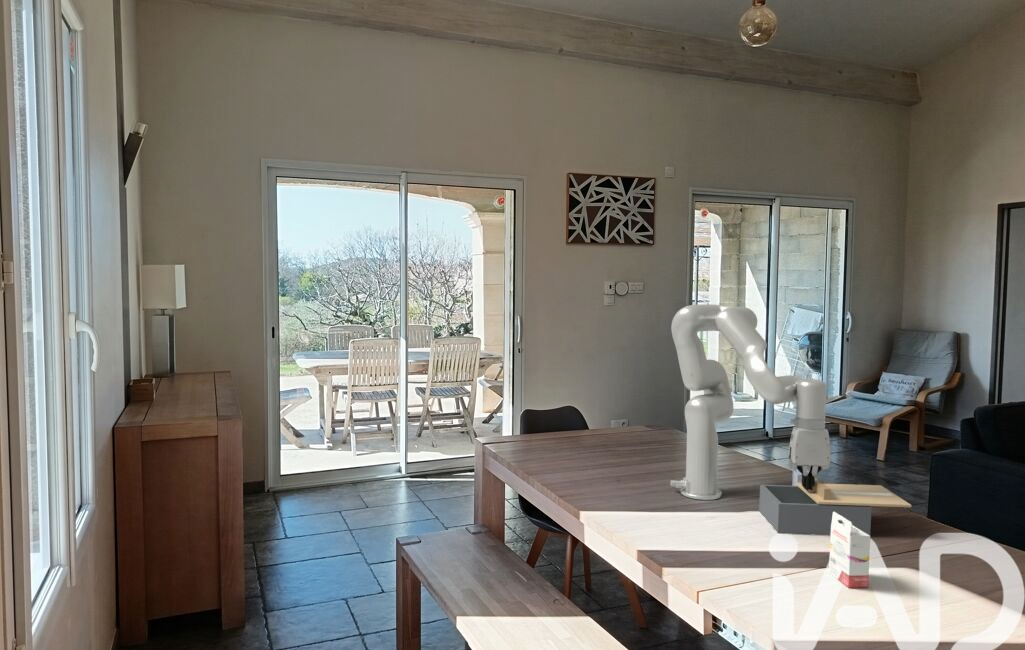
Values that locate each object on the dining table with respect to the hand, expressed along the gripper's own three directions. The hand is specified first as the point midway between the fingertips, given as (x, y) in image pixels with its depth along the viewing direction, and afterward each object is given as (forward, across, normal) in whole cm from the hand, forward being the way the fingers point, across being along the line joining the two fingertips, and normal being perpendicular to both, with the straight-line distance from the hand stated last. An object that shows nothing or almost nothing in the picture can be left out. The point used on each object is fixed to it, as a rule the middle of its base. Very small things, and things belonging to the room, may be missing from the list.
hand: (807, 488), depth 197 cm
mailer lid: (+1, +12, 0) cm, 12 cm away
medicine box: (+10, +6, +24) cm, 27 cm away
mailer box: (+10, +2, 0) cm, 10 cm away
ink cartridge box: (+10, -3, -38) cm, 39 cm away
